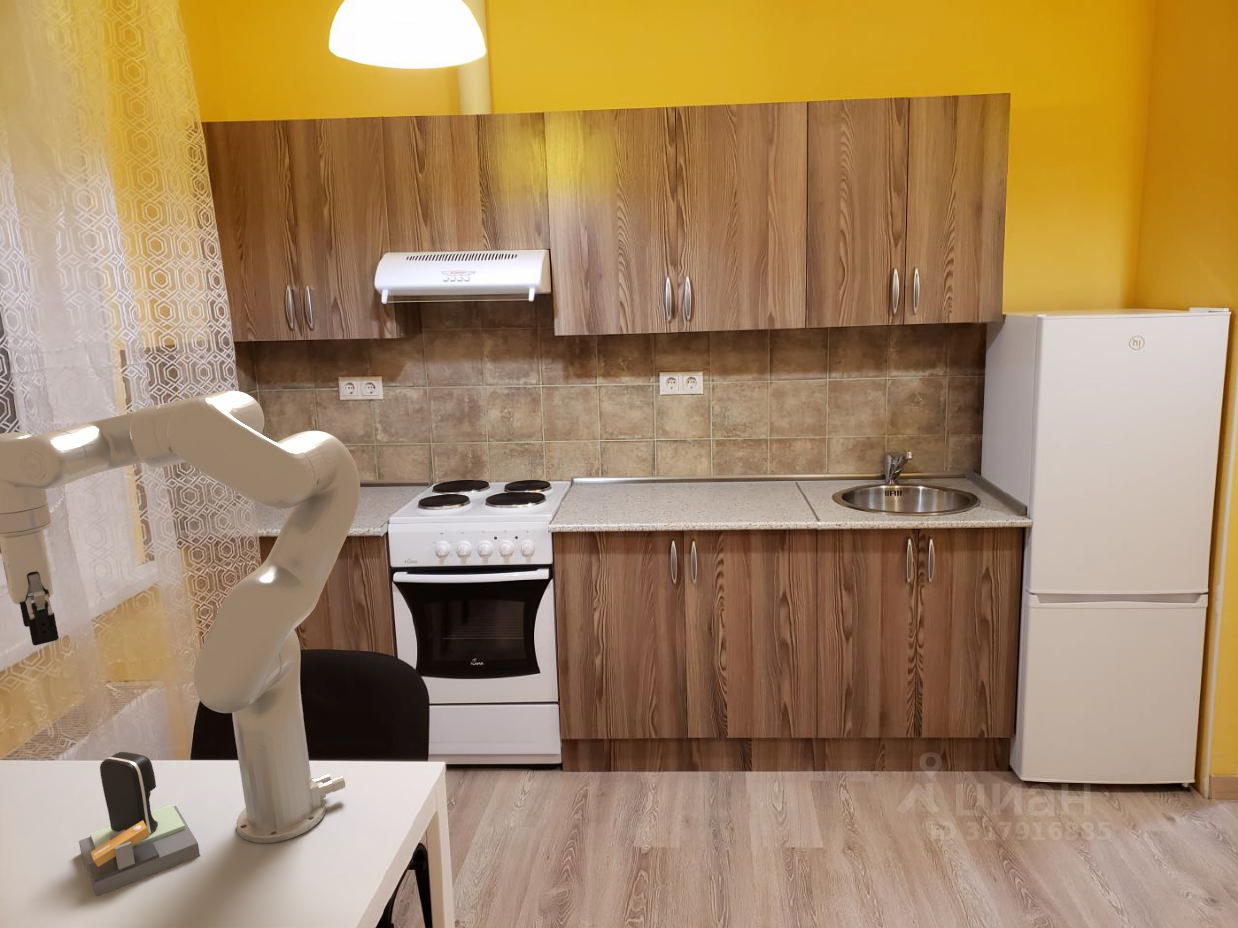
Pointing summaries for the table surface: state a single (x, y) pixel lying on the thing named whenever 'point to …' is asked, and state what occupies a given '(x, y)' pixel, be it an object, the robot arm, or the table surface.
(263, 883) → the table surface
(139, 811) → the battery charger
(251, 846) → the table surface
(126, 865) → the grey holder stand
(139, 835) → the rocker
